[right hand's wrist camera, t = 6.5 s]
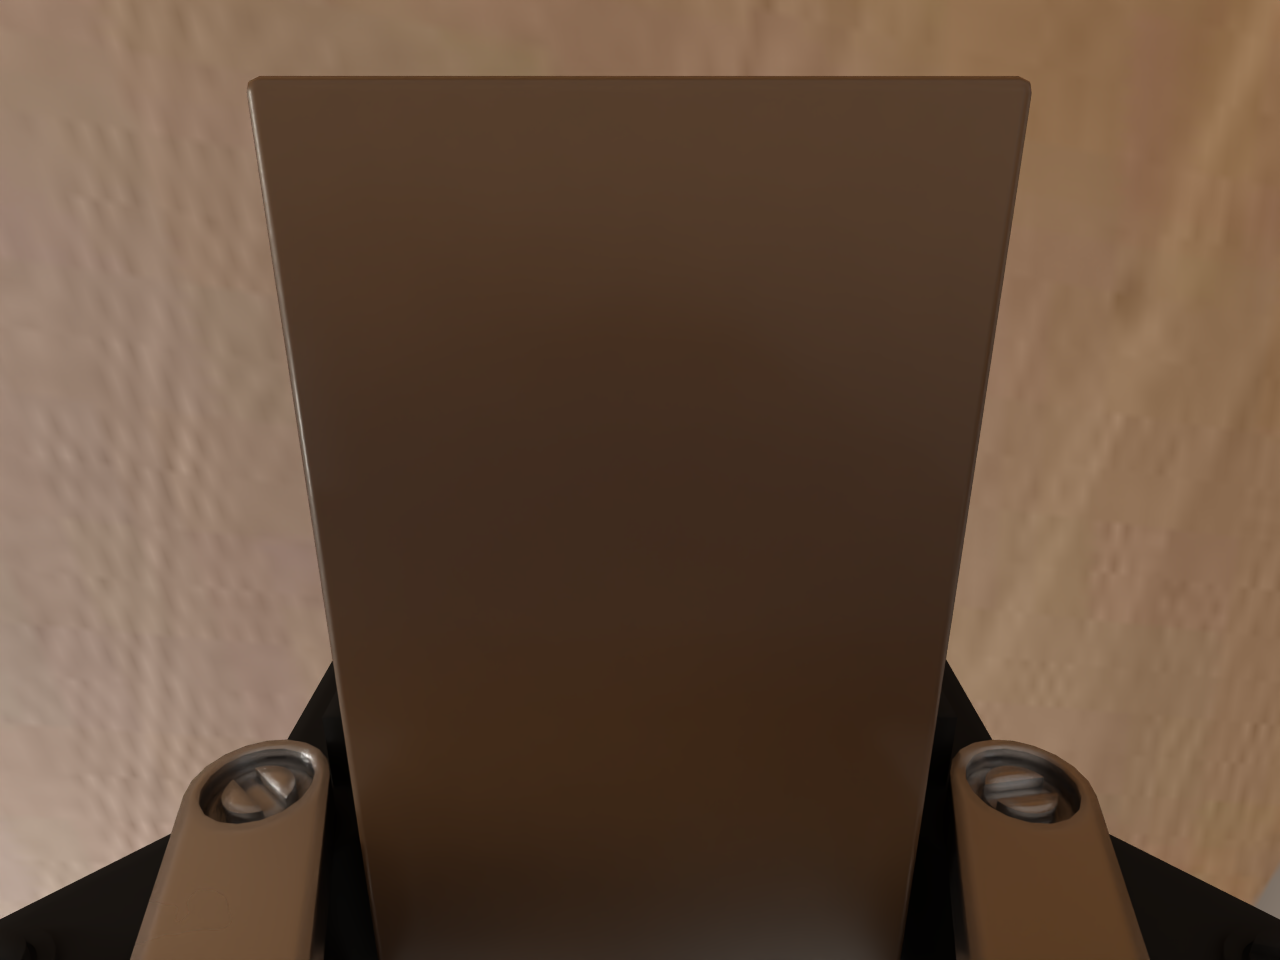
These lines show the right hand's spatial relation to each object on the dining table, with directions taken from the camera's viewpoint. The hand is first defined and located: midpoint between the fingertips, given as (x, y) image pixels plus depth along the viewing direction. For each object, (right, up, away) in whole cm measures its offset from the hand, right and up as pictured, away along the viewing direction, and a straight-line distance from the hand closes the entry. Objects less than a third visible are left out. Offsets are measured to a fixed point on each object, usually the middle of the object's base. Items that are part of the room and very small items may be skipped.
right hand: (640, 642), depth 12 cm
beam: (0, -18, +10) cm, 21 cm away
